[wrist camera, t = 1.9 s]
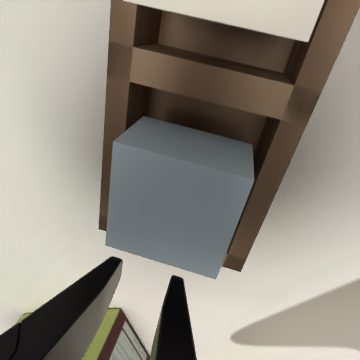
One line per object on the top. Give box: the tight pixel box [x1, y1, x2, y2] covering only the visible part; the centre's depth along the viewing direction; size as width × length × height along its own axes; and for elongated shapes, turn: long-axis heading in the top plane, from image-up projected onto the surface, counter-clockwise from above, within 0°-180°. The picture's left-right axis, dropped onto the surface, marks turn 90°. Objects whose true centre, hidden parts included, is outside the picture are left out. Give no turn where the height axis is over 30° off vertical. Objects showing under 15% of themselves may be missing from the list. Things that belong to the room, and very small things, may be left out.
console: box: [99, 0, 360, 272], centre depth 15 cm, size 10×22×5 cm, turn 169°
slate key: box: [106, 116, 255, 279], centre depth 14 cm, size 6×6×4 cm
